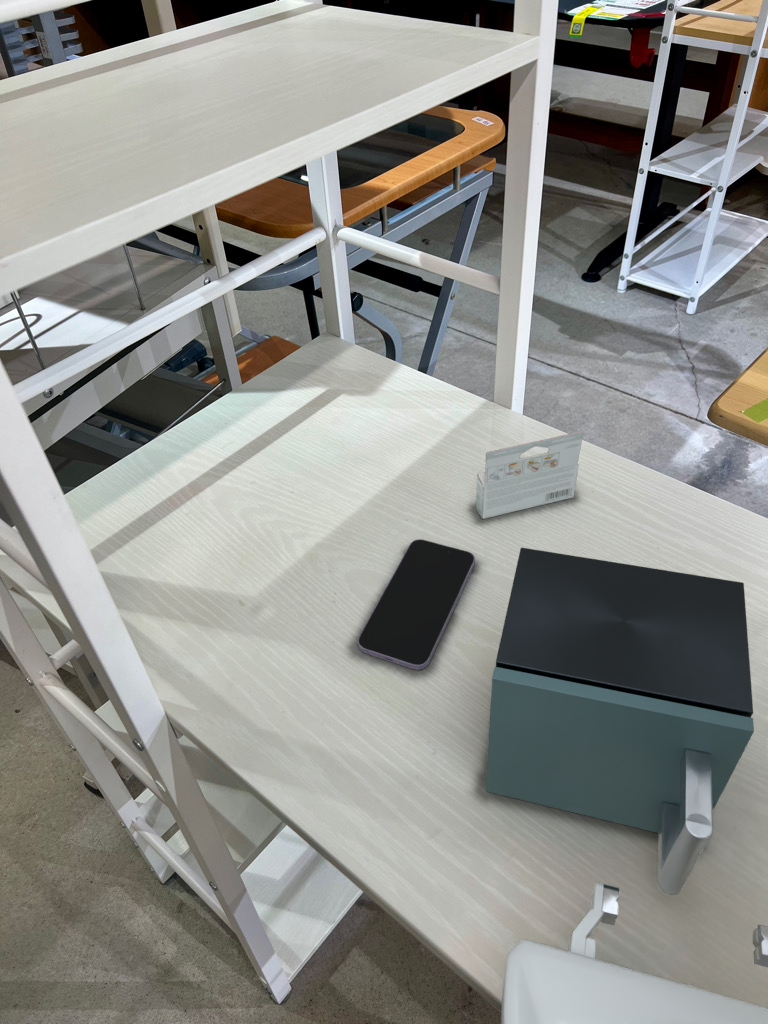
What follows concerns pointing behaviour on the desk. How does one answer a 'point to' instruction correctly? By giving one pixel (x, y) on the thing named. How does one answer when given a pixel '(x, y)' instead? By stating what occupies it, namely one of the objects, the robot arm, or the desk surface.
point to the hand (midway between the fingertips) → (685, 908)
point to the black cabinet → (629, 630)
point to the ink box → (528, 476)
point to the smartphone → (417, 604)
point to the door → (615, 759)
